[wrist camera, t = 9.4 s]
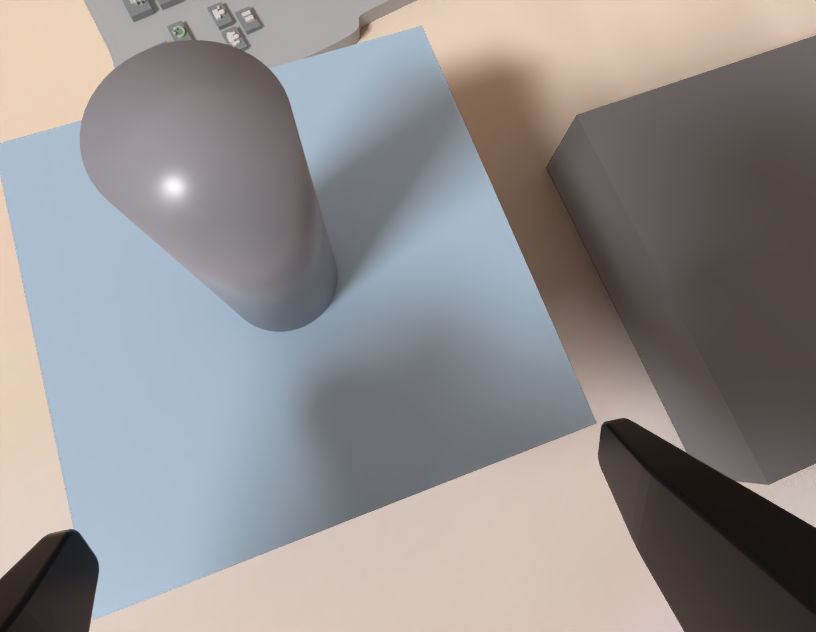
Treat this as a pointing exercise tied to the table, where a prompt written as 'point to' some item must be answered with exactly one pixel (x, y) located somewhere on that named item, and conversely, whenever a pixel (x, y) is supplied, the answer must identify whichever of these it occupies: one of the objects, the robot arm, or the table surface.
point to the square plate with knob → (271, 303)
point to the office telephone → (237, 25)
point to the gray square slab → (712, 250)
